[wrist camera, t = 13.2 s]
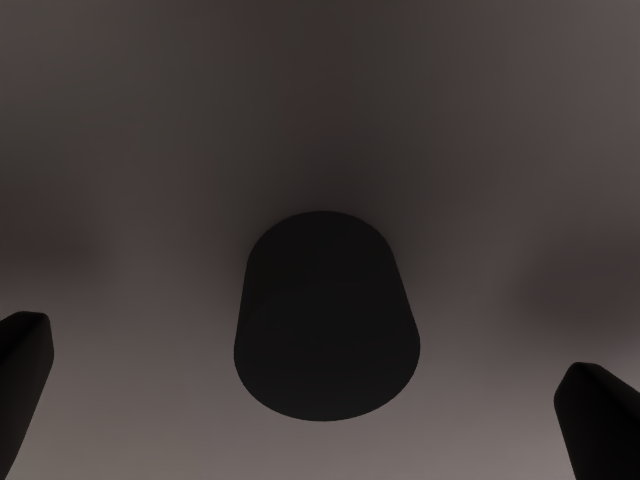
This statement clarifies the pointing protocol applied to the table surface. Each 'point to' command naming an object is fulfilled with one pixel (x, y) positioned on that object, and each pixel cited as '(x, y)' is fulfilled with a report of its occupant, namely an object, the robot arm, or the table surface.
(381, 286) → the dot
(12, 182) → the table surface
